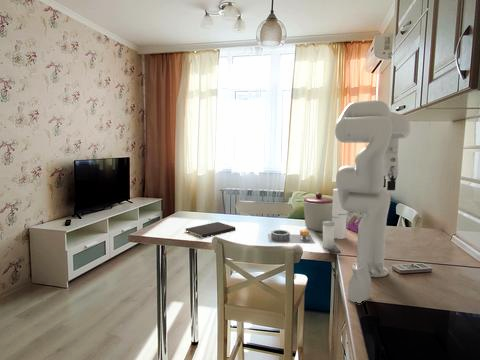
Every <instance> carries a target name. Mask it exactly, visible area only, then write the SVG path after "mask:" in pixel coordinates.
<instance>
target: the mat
mask: <svg viewBox="0 0 480 360" xmlns="http://www.w3.org/2000/svg"><path fill="white" fill-rule="evenodd" d="M327 251H328V252H329V253H333V254H334V253H337V254H339V253H340V254H341V253H342V252H341V250H340V248H338V246H337V245H336V244H334V249H331V250H328V249H327Z"/></svg>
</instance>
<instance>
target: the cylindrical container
mask: <svg viewBox="0 0 480 360" xmlns="http://www.w3.org/2000/svg"><path fill="white" fill-rule="evenodd" d="M332 190H333V191H332V200H333V208H332V220H331V221H333V222H335V225H334V239H336V238H337V239H339V240H342V239H344V240H345V239H346V237H347V236H346V235H347V228H346V219H347V211H346V210H344V209H343V208H342V207H341V204H340V200H339V196H338V191H337V188H333V189H332Z"/></svg>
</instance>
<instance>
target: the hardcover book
mask: <svg viewBox="0 0 480 360" xmlns="http://www.w3.org/2000/svg"><path fill="white" fill-rule="evenodd" d="M186 231H188V232H190V233H193V234H195V235H194V236H196V235H198V236H200V237H199V238H201V237H205V238H208V237H207V236H209V237H212V236H211V235H213V236H217V234H218V235H220V234H221V233H222V234H225V233H229V232H233V231H236V227H235V226H233V225H230V224H226V223H223V222H220V221H217V222H210V223H205V224H202V225H197V226H192V227H191V226H190V227H188V228H187V227H186V228H185V232H186ZM188 232H187V233H188ZM190 233H189V234H190ZM193 234H192V235H193ZM198 236H197V237H198Z"/></svg>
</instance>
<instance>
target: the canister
mask: <svg viewBox="0 0 480 360" xmlns="http://www.w3.org/2000/svg"><path fill="white" fill-rule="evenodd" d="M302 203H303V212H304V214H303V215H304V222H305V223H304V224H305V227H306V229H307V230H312V231H314V232H323V221H332V208H333V198H329V197H325V196H324V197H323V194H322V193H321V192H316V193H315V196H309V197H305V198H304V199H302Z"/></svg>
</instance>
